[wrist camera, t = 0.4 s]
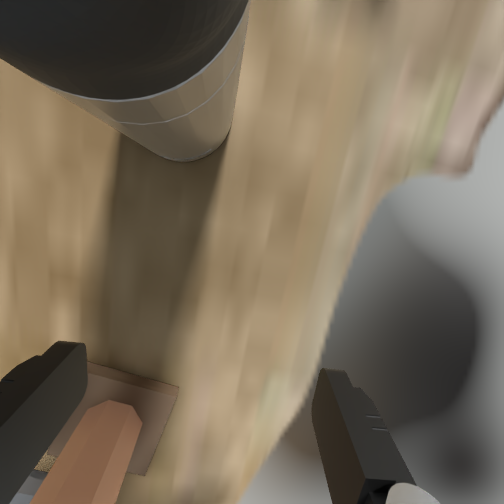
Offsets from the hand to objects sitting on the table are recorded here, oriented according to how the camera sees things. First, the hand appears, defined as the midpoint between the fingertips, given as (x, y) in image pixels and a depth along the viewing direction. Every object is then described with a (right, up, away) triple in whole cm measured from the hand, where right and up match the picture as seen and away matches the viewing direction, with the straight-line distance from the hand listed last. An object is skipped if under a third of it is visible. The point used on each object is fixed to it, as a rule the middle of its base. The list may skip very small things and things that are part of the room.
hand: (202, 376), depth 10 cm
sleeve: (-12, -13, +19) cm, 26 cm away
